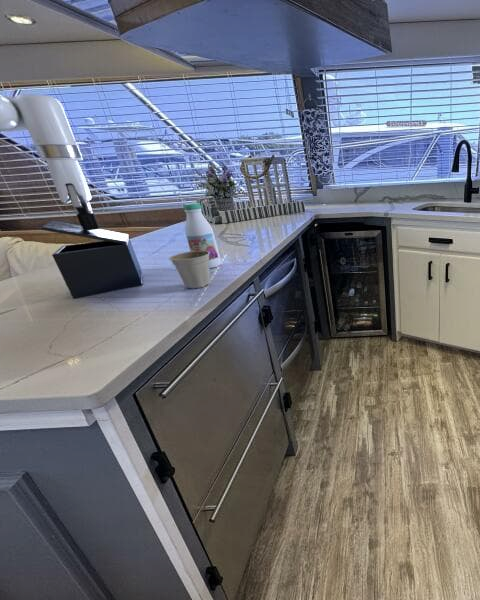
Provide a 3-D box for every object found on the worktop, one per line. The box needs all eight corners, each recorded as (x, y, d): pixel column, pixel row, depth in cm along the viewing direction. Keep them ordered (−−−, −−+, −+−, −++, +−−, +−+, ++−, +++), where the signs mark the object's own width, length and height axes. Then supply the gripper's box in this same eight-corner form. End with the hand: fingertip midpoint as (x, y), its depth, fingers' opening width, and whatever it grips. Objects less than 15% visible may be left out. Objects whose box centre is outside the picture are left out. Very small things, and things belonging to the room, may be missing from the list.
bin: (73, 298, 83) (51, 254, 78) (81, 285, 92) (62, 245, 88) (142, 285, 91) (126, 244, 86) (143, 274, 100) (129, 237, 96)
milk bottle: (199, 264, 109) (180, 203, 101) (224, 261, 111) (208, 201, 103) (193, 270, 102) (172, 206, 94) (219, 267, 104) (202, 204, 96)
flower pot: (209, 277, 95) (201, 248, 92) (223, 283, 90) (215, 253, 86) (173, 286, 89) (163, 256, 85) (187, 294, 83) (176, 261, 80)
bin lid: (41, 229, 76) (41, 226, 76) (53, 223, 86) (53, 220, 85) (125, 244, 86) (126, 241, 86) (128, 237, 95) (128, 234, 95)
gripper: (46, 155, 82) (77, 227, 89) (30, 153, 71) (67, 235, 78) (85, 155, 86) (112, 224, 93) (75, 152, 75) (107, 231, 82)
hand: (91, 229), depth 86 cm, fingers closed
